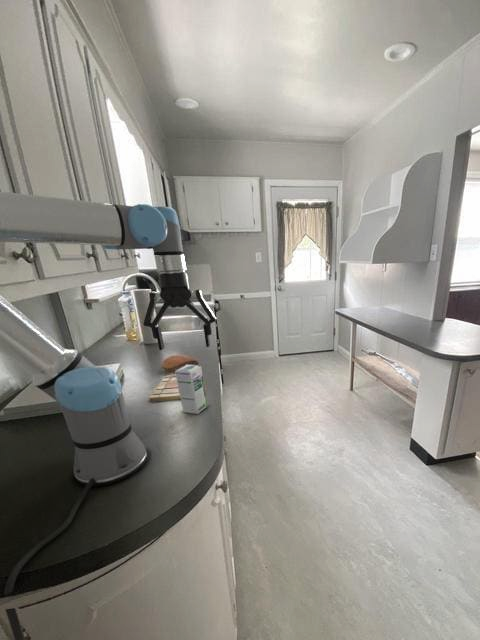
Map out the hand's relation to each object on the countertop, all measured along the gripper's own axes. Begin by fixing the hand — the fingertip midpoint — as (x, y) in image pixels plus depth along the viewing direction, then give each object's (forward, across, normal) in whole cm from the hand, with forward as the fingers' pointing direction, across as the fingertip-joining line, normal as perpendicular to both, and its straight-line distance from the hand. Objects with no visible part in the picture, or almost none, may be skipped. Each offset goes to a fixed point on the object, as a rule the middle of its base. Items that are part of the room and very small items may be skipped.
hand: (185, 347), depth 91 cm
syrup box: (+21, 0, 0) cm, 21 cm away
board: (+21, +10, -20) cm, 31 cm away
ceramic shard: (+21, +16, -45) cm, 52 cm away
